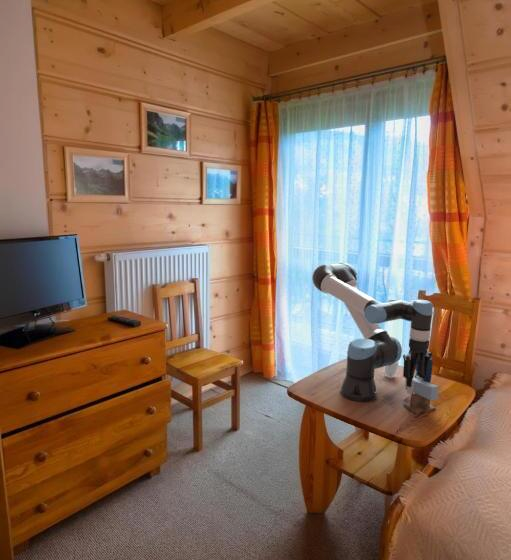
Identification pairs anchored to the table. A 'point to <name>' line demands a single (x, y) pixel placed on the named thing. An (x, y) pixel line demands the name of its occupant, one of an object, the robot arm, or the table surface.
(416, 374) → the soda can
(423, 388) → the bar
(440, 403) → the table surface
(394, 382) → the table surface
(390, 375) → the cup
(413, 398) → the ridge stand
